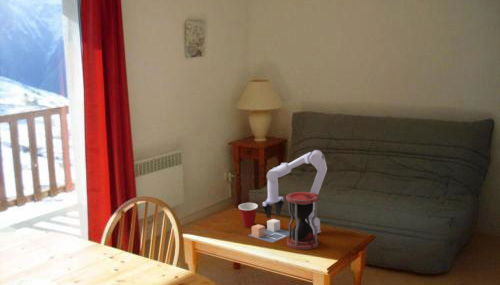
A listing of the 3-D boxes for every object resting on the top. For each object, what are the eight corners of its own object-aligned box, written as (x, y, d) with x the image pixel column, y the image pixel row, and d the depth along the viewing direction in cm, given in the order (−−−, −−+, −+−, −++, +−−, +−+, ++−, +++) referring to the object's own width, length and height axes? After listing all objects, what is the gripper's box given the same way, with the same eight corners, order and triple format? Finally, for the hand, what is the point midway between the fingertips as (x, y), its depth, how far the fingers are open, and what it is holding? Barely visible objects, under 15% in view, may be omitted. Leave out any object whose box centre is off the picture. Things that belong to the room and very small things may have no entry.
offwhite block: (280, 229, 302) (280, 220, 301) (274, 231, 299) (273, 222, 298) (273, 227, 306) (273, 218, 305) (267, 229, 302) (266, 221, 301)
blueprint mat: (295, 233, 296) (295, 232, 296) (271, 243, 283) (271, 242, 283) (271, 226, 308) (271, 226, 308) (247, 235, 294) (247, 235, 294)
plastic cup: (236, 229, 306) (236, 207, 304) (241, 222, 316) (241, 202, 314) (255, 230, 303) (255, 208, 301) (260, 223, 314) (259, 203, 312)
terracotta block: (265, 235, 294) (265, 226, 293) (258, 237, 290) (258, 228, 289) (258, 233, 297) (258, 224, 296) (251, 235, 294) (251, 226, 293)
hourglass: (310, 251, 270) (310, 201, 266) (281, 246, 278) (280, 197, 274) (324, 241, 283) (324, 193, 279) (295, 236, 292) (295, 190, 287)
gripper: (276, 187, 306) (276, 211, 309) (258, 193, 296) (258, 217, 298) (286, 189, 301) (286, 214, 304) (268, 195, 291) (268, 220, 294)
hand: (273, 216), depth 301 cm, fingers open, 7 cm apart
